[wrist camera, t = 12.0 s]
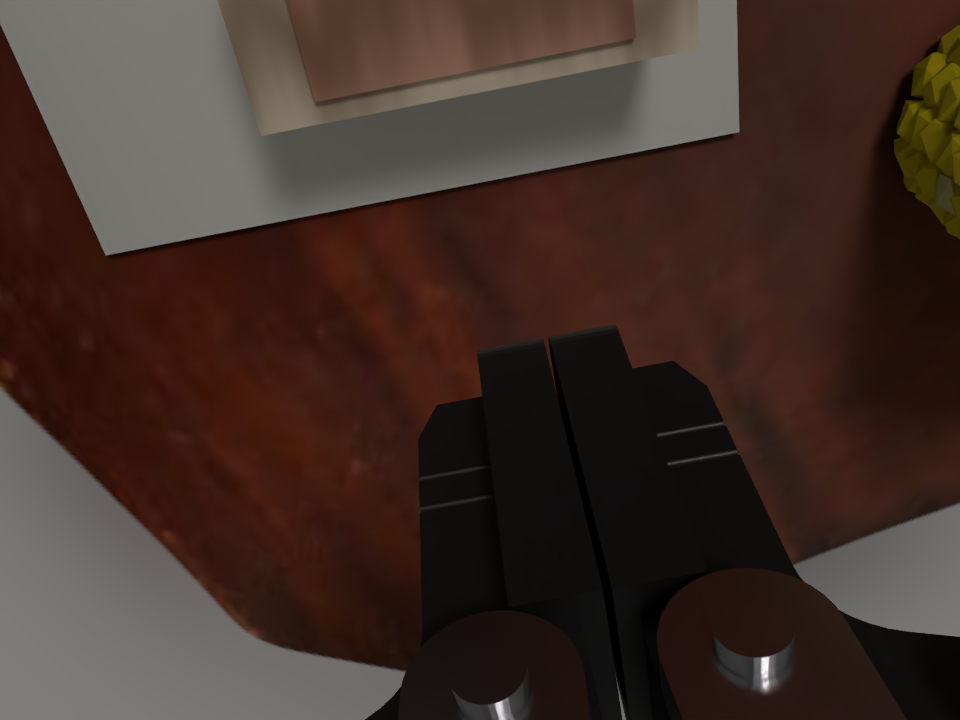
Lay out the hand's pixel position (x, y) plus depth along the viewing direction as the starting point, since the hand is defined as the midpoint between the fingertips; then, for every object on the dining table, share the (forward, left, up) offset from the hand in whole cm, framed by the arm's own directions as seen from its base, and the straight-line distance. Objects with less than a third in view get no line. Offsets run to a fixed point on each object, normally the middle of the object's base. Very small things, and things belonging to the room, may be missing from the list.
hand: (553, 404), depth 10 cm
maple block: (0, -7, -24) cm, 24 cm away
